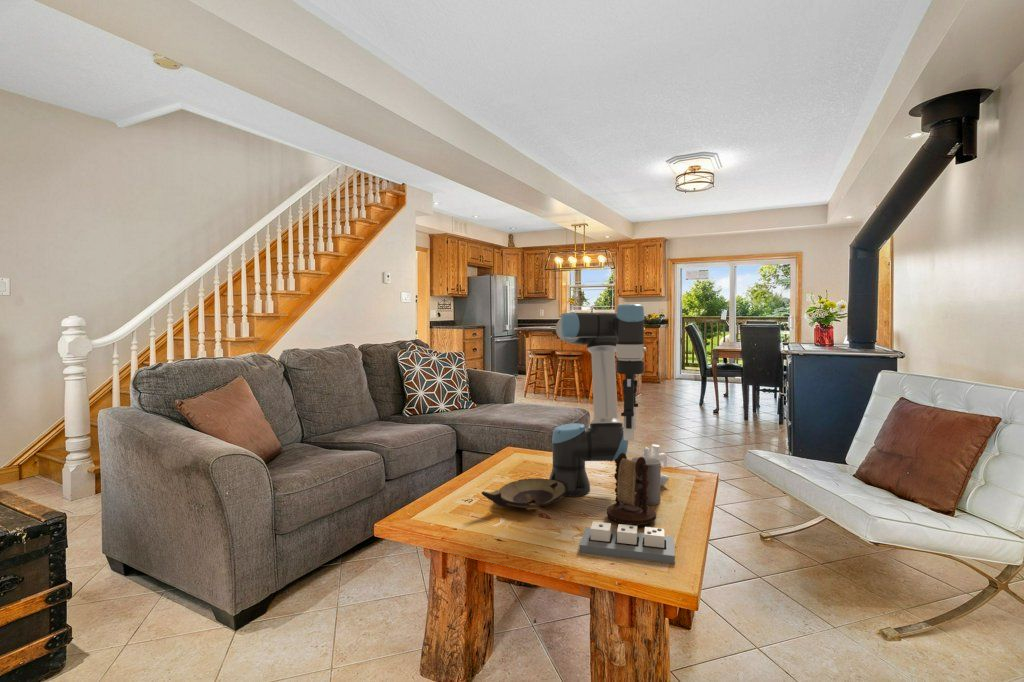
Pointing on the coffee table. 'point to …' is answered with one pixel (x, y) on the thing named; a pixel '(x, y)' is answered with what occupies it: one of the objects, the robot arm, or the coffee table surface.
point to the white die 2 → (627, 534)
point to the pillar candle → (651, 480)
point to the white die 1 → (601, 531)
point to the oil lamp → (527, 493)
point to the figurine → (659, 456)
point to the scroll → (631, 493)
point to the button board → (628, 548)
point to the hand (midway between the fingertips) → (630, 434)
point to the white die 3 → (654, 537)
